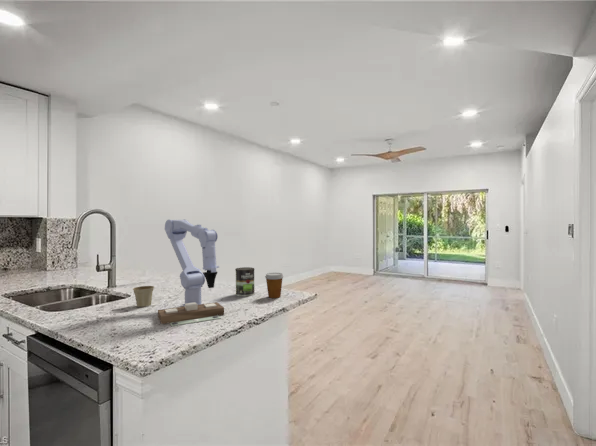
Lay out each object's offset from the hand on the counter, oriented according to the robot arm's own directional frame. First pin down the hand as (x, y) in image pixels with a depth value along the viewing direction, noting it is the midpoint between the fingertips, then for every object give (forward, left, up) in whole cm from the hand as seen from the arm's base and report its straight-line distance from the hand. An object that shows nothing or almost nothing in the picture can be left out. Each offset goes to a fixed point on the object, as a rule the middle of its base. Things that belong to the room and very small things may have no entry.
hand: (211, 287), depth 147 cm
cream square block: (+3, -17, -10) cm, 20 cm away
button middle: (+3, -9, -9) cm, 13 cm away
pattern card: (+11, -9, -11) cm, 18 cm away
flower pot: (-27, -25, -11) cm, 39 cm away
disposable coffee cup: (-10, +36, -11) cm, 39 cm away
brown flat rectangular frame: (+3, -9, -11) cm, 14 cm away
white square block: (+3, -1, -10) cm, 11 cm away
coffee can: (-24, +25, -11) cm, 36 cm away
